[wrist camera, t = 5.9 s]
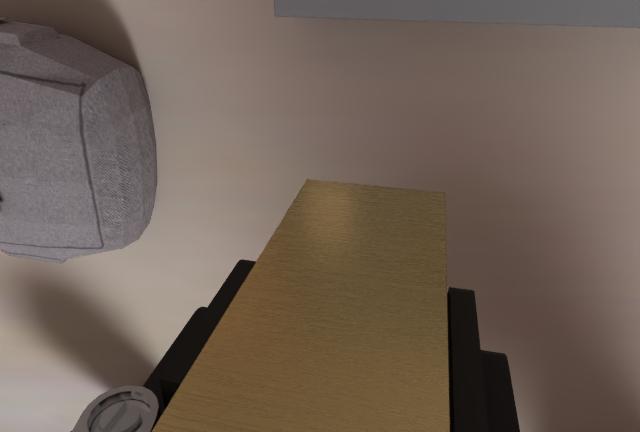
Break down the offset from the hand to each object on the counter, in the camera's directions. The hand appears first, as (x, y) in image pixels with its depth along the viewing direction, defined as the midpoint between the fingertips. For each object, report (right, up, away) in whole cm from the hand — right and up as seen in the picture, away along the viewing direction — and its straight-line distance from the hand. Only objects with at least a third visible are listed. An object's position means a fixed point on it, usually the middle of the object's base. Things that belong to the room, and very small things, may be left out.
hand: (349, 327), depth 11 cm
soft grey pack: (-21, +9, +22) cm, 32 cm away
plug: (+1, +2, +3) cm, 4 cm away
